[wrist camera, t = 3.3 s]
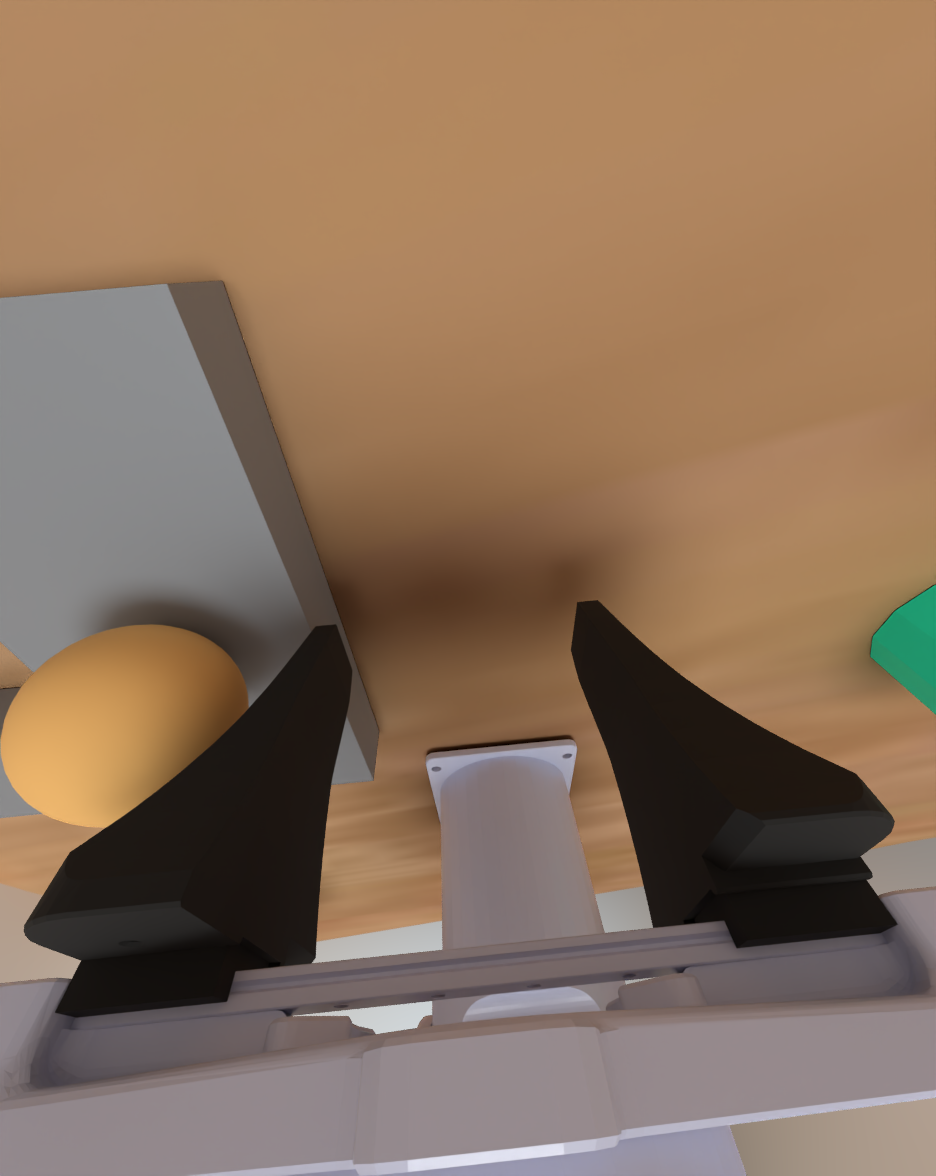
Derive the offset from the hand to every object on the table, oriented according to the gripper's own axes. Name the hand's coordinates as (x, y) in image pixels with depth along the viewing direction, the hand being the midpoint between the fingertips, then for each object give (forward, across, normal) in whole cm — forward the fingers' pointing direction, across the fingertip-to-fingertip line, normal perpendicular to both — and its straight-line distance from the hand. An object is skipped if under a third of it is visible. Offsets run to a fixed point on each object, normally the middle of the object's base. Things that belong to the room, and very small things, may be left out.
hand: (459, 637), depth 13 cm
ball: (-2, +9, 0) cm, 9 cm away
